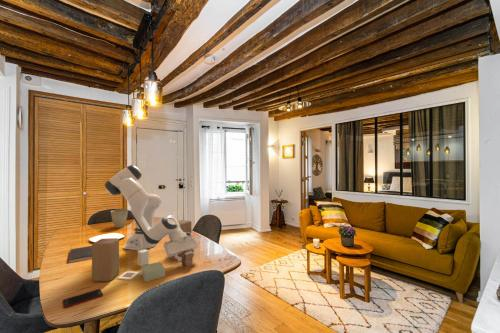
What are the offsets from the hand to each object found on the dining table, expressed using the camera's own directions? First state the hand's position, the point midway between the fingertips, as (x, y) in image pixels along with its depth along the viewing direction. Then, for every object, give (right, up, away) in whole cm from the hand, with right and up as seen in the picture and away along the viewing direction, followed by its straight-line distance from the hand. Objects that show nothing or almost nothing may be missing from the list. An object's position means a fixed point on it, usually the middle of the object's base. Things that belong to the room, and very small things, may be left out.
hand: (187, 258), depth 145 cm
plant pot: (-89, -4, +91) cm, 127 cm away
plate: (-79, -5, +52) cm, 95 cm away
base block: (-16, -5, -12) cm, 20 cm away
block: (-11, -4, +28) cm, 30 cm away
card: (-29, -5, -12) cm, 32 cm away
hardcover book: (-75, -5, +20) cm, 78 cm away
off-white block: (-28, -5, +4) cm, 29 cm away
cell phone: (-39, -6, -34) cm, 52 cm away
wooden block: (-40, -5, -14) cm, 43 cm away
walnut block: (0, -5, +1) cm, 5 cm away
